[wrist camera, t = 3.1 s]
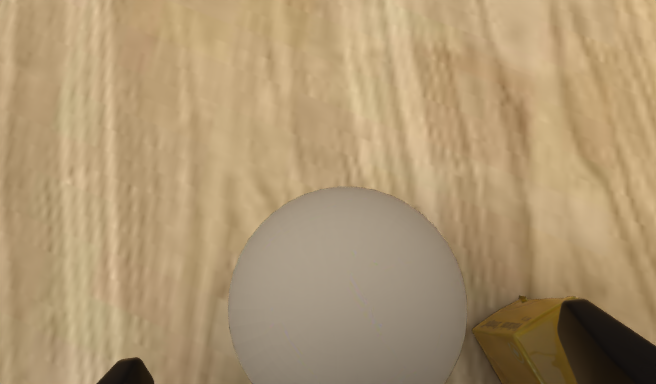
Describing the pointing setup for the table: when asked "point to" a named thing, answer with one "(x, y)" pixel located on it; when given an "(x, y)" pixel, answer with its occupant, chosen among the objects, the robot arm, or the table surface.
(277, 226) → the light bulb
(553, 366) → the medication box
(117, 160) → the table surface
